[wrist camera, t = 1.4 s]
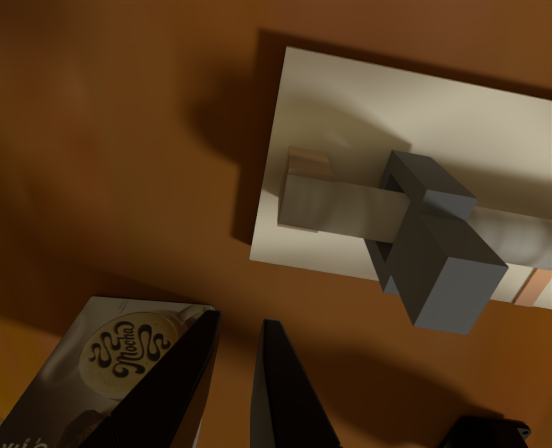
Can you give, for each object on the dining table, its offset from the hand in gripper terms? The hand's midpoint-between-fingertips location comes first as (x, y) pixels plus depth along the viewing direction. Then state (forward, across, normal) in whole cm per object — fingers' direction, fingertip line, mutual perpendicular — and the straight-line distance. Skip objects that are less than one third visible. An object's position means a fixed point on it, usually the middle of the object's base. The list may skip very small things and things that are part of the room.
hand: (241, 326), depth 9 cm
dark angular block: (+11, -7, 0) cm, 13 cm away
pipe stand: (+13, -13, 0) cm, 18 cm away
